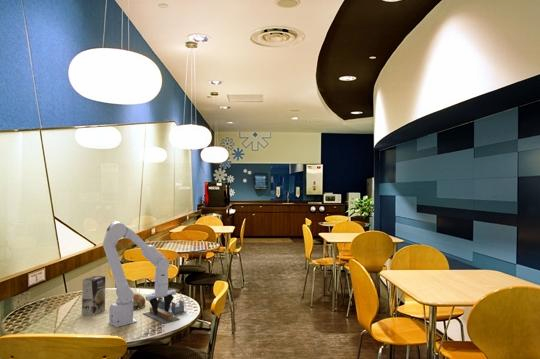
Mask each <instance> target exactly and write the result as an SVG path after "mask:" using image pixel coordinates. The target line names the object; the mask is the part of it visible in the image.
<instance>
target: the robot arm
mask: <svg viewBox="0 0 540 359" xmlns="http://www.w3.org/2000/svg"><path fill="white" fill-rule="evenodd" d="M122 238H124V239H128V240H130V241H131V242H133V244H135V245H136V246H137V247H138V248H140V250H142V252H141V254H142V256H143V257H144V258H145V259H147V260H148V261H149V262H150V263H151V264H153V266H154V269H155V271H154V292H153V293H150V294H147V295H145V301H148V302H149V303H150V307H152V309H153V313H154V315H157V314H158V303H159V301H158V298H160V297H163V299H164V304H165V306H164V309H165V311H167V312H168V311H169V307H170V305H171V302H172V301H173V300H174V296H175V295H177V289H168V288H169V284H168V283H169V272H168V271H169V268H170V261H169V259H167V258H166V257H165V255H164V254H163V253H161V252H160V251H158V249H157V246H155V245H152V244H147V243H146V242H145V241H144V240H143V239H142V238H141V237H140V236H139V235H138V234H137V233H136V232H135V231H134V230H132V229H131V228H130V227H128V226H127V225H125V224H124V223H123V222H121V221H118V220H116V221H112V222H111V223H110V225H108V227H107V228H106V231H105V235H104V238H103V242H102V247H103V249H104V253H105V255H106V259H107V262H108V264H109V268H110V271H111V274H112V276H113V280H114V283H115V286H116V291H115V293H116V296H117V298H116V301H115V303H113V304H110V306H109V309H108V310H109V314H108V315H109V320H108V324H110V325H112V326H114V327H115V328H118V327H123V326H126V325H130V324H133V323H137V322H138V320H137V319H135V318H134V309H133V297H134V294H135V293H134V291H133V290H132V289H131V286H130V285H129V284H128V280H127V277H126V275H125V272H124V268H123V266H122V263H121V260H120V257H119V253H118V250H117V247H116V245H117V244H118V242H119V241H120V239H122Z"/></svg>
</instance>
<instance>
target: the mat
mask: <svg viewBox="0 0 540 359" xmlns="http://www.w3.org/2000/svg"><path fill="white" fill-rule="evenodd" d="M142 314H143V315H144V316H146V317H148V318H149V319H152V320H154V321H156V322H159V323H161V324H163V325H164V324H169V323H172V322H176V321H179V320H181V319H180V318H179V317H176V316H175V315H173V320H169V321H167V320H165V319H163V318H161V317H158V316H156V315H154V314H152V313H150V311H148V312H144V313H142Z"/></svg>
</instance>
